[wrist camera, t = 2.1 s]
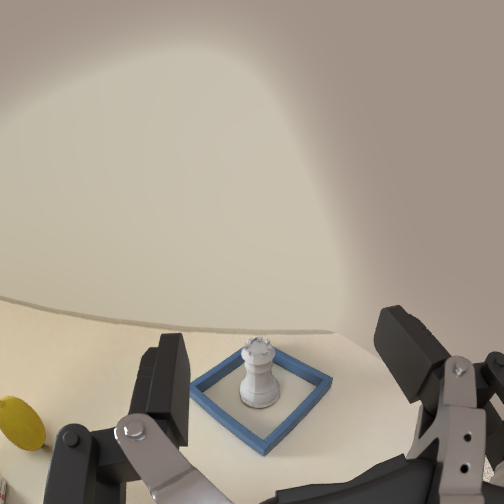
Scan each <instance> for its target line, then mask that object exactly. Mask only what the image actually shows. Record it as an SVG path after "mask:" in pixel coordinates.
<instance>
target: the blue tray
mask: <svg viewBox="0 0 504 504" xmlns="http://www.w3.org/2000/svg"><path fill="white" fill-rule="evenodd" d="M256 340H257V337H256V338H255V339H253V341H256ZM243 348H244V347H242V348H241V349H240V350H238V351H237V352H235V353H234V354H233V355H231V356H230V357H228V358H227V359H225V360H224V361H223V362H221V363H220V364H218V365H217V366H215V367H214V368H212V369H211V370H209V371H208V372H206V373H205V374H203V375H202V376H200V377H199V378H197V379H196V380H194V381H193V382H191V383H190V395H189V396H190V397H191V398H192V399H193V400H194V401H195V402H197V403H198V404H199V405H200V406H201V407H202V408H203V409H204V410H205V411H207V412H208V413H209V414H210V415H211V416H212V417H213V418H215V419H216V420H217V421H218V422H219V423H221V424H222V425H223V426H224V427H225V428H227V429H228V430H229V431H230V432H232V433H233V434H234V435H235V436H237V437H238V438H239V439H241V440H242V441H243V442H245V443H246V444H247V445H248V446H250V447H251V448H253V449H254V450H255V451H257V452H258V453H259V454H261V455H262V456H265V455H266V454H267V453H269V451H271V450H272V449H273V448H274V447H275V446H276V445H277V444H278V443H279V442H280V441H281V440H282V439H283V438H284V437H285V436H286V435H287V434H288V433H289V432H290V431H291V430H292V429H293V428H294V427H295V426H296V425H297V424H298V423H299V422H300V421H301V420H302V419H303V418H304V417H305V416H306V415H307V413H308V412H309V411H310V410H311V409H312V408H313V407H314V406H315V405H316V404H317V402H318V401H319V400H320V399H321V398H322V397H323V396H324V394H325V393H326V392H327V391H328V390H329V389H330V387H331V384H332V380H333V378H332V377H330V376H328V375H326V374H324V373H322V372H320V371H318V370H316V369H314V368H312V367H310V366H308V365H306V364H304V363H302V362H301V361H299V360H297V359H295V358H293V357H291V356H289V355H287V354H286V353H284V352H282V351H280V350H278V349H276V348H275V347H274V349H275V356H274V358H273V359H272V361H273V362H275V363H276V364H278V365H280V366H281V367H283V368H285V369H287V370H288V371H290V372H292V373H294V374H296V375H297V376H299V377H301V378H303V379H305V380H307V381H308V382H310V383H312V384H314V385H316V386H317V387H316V389H315V390H314V391H313V392H312V393H311V394H310V395H309V396H308V397H307V398H306V399H305V400H304V401H303V402H302V404H301V405H300V406H299V407H298V408H297V409H296V410H295V411H294V412H293V413H292V414H291V415H290V416H289V417H288V418H287V419H286V420H285V421H284V422H283V423H282V424H281V425H279V426H278V427H277V428H276V429H275V430H274V431H273V432H272V433H271V434H270V435H269V436H268V437H267V438H266V439H264V441H263V440H262V439H260V438H259V437H258V436H256V435H255V434H253V433H252V432H251V431H249V430H248V429H247V428H245V427H244V426H243V425H241V424H240V423H239V422H237V421H236V420H235V419H233V418H232V417H231V416H230V415H228V414H227V413H226V412H225V411H223V410H222V409H221V408H220V407H218V406H217V405H216V404H215V403H214V402H212V401H211V400H210V399H209V398H208V397H207V396H205V395H204V394H203V393H202V392H203V391H205V390H206V389H208V388H209V387H210V386H212V385H213V384H215V383H216V382H218V381H219V380H220V379H222V378H223V377H225V376H226V375H227V374H229V373H230V372H231V371H233V370H234V369H236V368H237V367H238V366H240V365H241V364H242V363H244V362H245V360H244V359H243V358H242V355H241V352H242V349H243Z"/></svg>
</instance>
